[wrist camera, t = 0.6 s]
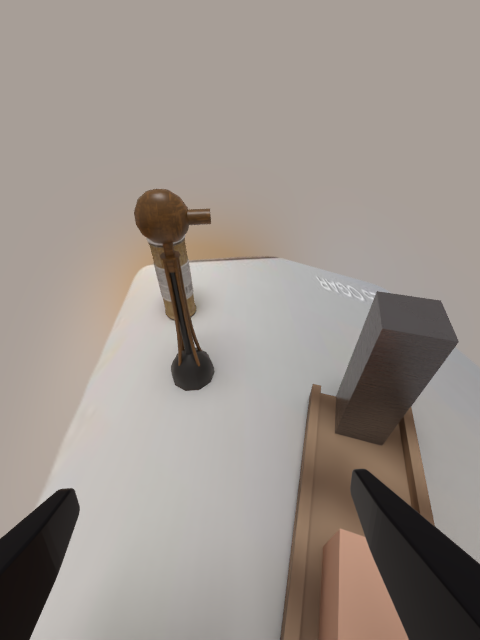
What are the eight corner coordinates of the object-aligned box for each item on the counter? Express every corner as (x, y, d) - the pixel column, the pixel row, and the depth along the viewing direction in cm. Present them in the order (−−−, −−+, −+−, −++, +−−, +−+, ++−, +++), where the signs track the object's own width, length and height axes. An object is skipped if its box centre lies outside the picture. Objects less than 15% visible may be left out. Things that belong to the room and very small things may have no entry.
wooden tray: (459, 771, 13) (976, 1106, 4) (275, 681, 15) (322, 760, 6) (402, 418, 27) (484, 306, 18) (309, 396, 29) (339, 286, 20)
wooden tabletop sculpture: (222, 356, 33) (207, 178, 20) (223, 387, 30) (207, 197, 17) (174, 359, 33) (128, 181, 20) (170, 391, 30) (111, 201, 16)
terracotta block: (417, 702, 14) (470, 724, 11) (317, 657, 15) (337, 665, 12) (402, 574, 17) (438, 561, 14) (323, 546, 19) (339, 528, 15)
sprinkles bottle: (187, 298, 43) (172, 211, 34) (202, 313, 40) (190, 222, 31) (160, 309, 41) (136, 220, 32) (174, 326, 38) (152, 233, 29)
